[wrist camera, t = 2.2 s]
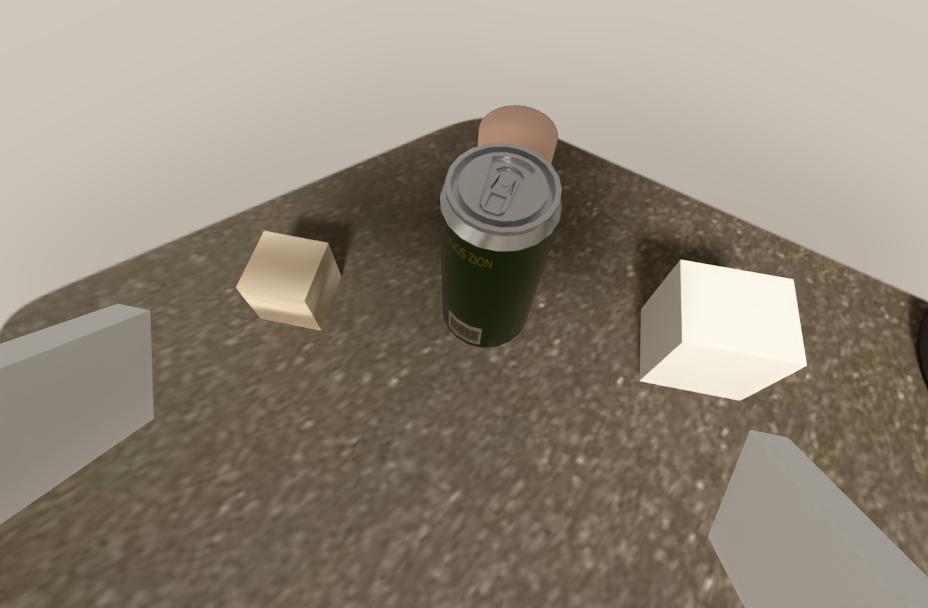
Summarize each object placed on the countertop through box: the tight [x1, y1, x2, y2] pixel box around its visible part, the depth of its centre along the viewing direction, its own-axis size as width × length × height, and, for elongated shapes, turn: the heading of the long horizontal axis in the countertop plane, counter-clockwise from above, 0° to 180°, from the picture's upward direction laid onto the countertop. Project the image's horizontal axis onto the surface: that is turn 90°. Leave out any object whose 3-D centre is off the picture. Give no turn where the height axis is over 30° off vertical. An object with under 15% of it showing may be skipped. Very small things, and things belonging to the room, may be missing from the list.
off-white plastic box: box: [639, 260, 807, 401], centre depth 27 cm, size 5×6×6 cm
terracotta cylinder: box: [478, 105, 558, 163], centre depth 32 cm, size 5×5×6 cm
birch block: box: [236, 231, 342, 330], centre depth 29 cm, size 4×4×4 cm
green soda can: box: [440, 143, 562, 347], centre depth 25 cm, size 5×5×12 cm
